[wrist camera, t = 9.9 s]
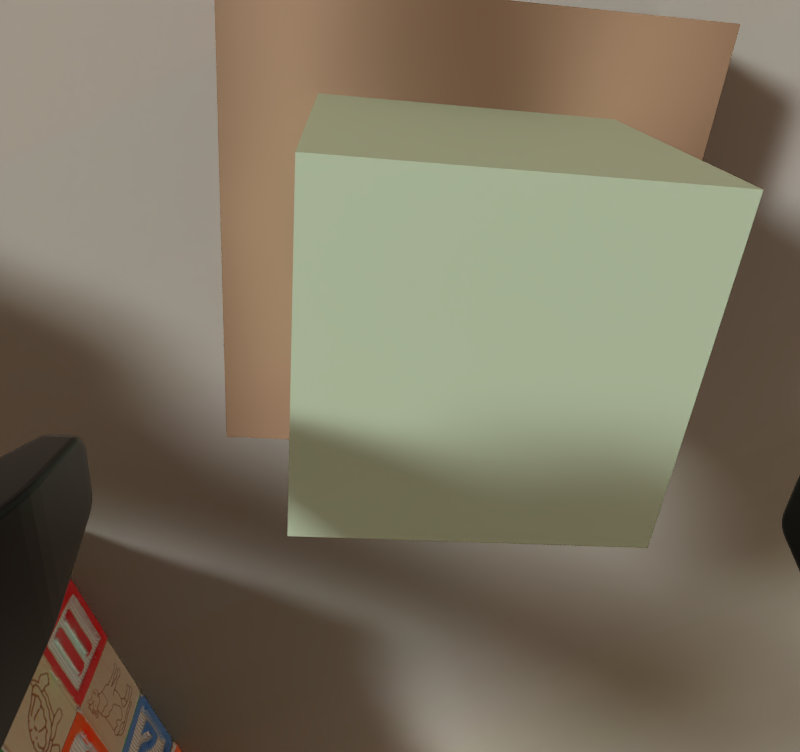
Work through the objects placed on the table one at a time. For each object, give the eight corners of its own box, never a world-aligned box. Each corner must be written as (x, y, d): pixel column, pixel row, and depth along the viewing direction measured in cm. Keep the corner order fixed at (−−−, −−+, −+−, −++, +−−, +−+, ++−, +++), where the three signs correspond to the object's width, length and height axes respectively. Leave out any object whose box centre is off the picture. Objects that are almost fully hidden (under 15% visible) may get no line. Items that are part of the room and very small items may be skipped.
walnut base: (248, 362, 21) (226, 436, 18) (244, -25, 16) (214, -30, 13) (577, 380, 22) (620, 454, 18) (661, 18, 17) (740, 24, 14)
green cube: (309, 365, 17) (287, 536, 11) (318, 93, 14) (294, 152, 9) (558, 378, 17) (647, 548, 12) (614, 119, 14) (764, 189, 9)
